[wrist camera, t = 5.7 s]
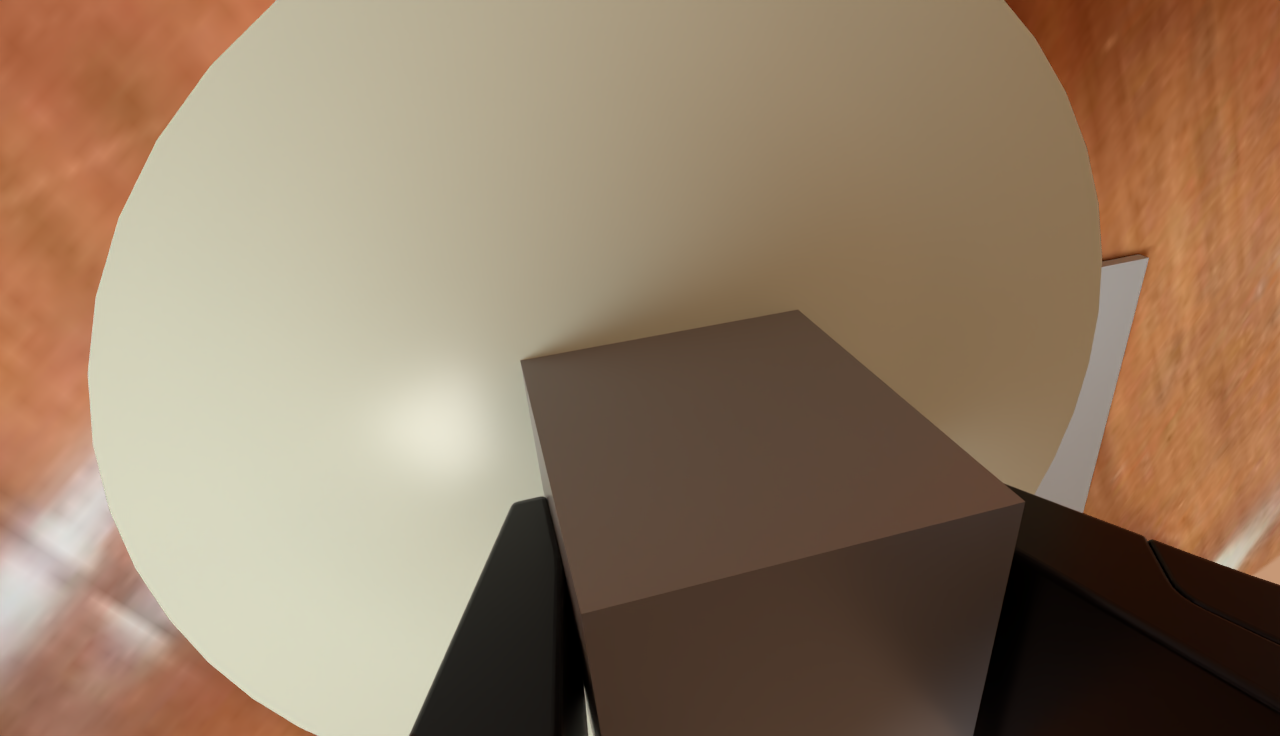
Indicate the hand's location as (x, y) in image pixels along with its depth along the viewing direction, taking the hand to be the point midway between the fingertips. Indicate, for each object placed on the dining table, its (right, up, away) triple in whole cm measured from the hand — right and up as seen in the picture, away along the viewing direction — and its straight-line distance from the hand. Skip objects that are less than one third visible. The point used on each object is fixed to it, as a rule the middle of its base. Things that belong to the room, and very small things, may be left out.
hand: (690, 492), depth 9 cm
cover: (0, +1, +1) cm, 2 cm away
